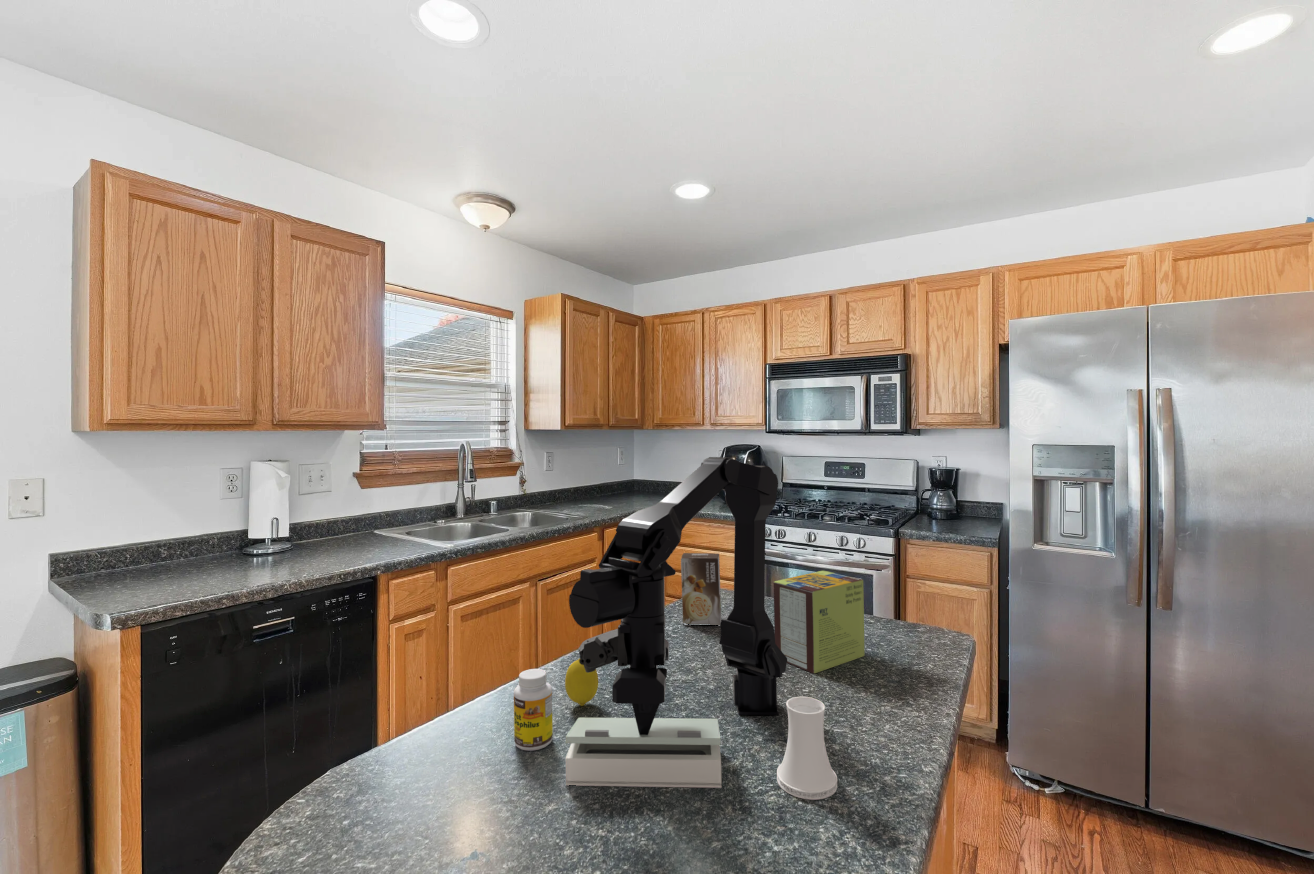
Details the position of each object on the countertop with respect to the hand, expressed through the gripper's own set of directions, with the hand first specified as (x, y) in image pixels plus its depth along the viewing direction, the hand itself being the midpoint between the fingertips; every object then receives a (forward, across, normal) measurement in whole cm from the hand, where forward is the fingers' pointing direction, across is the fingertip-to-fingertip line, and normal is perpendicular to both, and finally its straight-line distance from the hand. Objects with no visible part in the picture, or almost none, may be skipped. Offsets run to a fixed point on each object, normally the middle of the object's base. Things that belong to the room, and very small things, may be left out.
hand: (644, 732), depth 78 cm
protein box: (+4, -42, +32) cm, 53 cm away
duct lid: (+1, -2, 0) cm, 2 cm away
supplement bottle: (+6, -8, -17) cm, 20 cm away
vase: (+6, +1, +21) cm, 22 cm away
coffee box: (+2, -64, +9) cm, 65 cm away
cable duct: (+6, -2, 0) cm, 6 cm away
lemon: (+5, -20, -12) cm, 24 cm away
